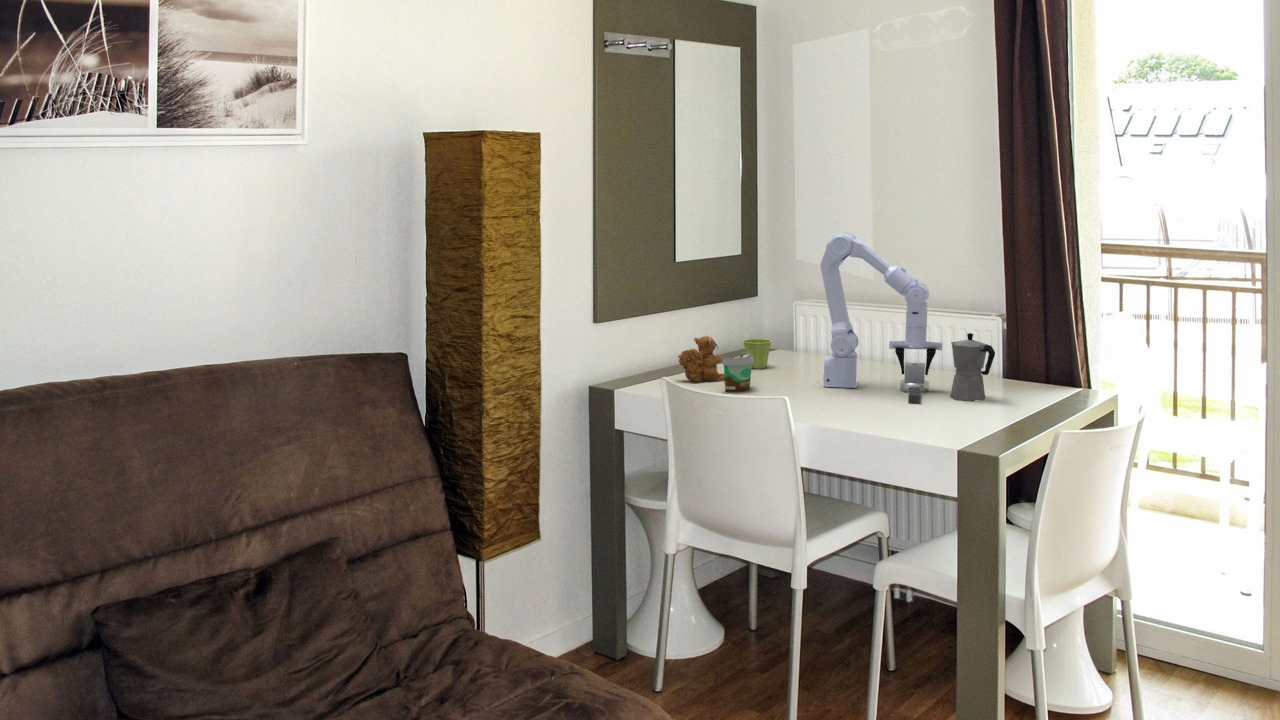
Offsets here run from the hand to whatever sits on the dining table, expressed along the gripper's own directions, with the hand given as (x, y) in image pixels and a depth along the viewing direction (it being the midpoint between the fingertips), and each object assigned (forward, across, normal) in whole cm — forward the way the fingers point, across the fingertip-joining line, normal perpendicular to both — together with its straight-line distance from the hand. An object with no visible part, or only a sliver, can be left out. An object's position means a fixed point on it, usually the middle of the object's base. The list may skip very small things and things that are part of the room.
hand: (914, 374), depth 307 cm
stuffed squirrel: (+5, -62, +3) cm, 62 cm away
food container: (+5, -48, -9) cm, 49 cm away
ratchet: (+5, 0, -7) cm, 9 cm away
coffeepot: (+5, +15, -9) cm, 18 cm away
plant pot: (+5, -49, +28) cm, 57 cm away
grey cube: (+2, 0, 0) cm, 2 cm away
